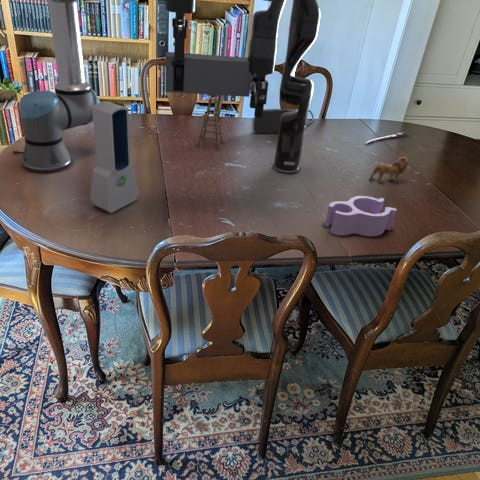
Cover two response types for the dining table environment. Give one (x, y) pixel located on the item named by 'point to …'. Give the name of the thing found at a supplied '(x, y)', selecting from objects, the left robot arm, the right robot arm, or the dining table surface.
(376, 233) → the clip
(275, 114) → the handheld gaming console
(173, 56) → the bar
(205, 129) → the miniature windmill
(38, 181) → the dining table surface
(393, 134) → the sword
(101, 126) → the electronic device
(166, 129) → the dining table surface
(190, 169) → the dining table surface
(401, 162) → the lion figurine
